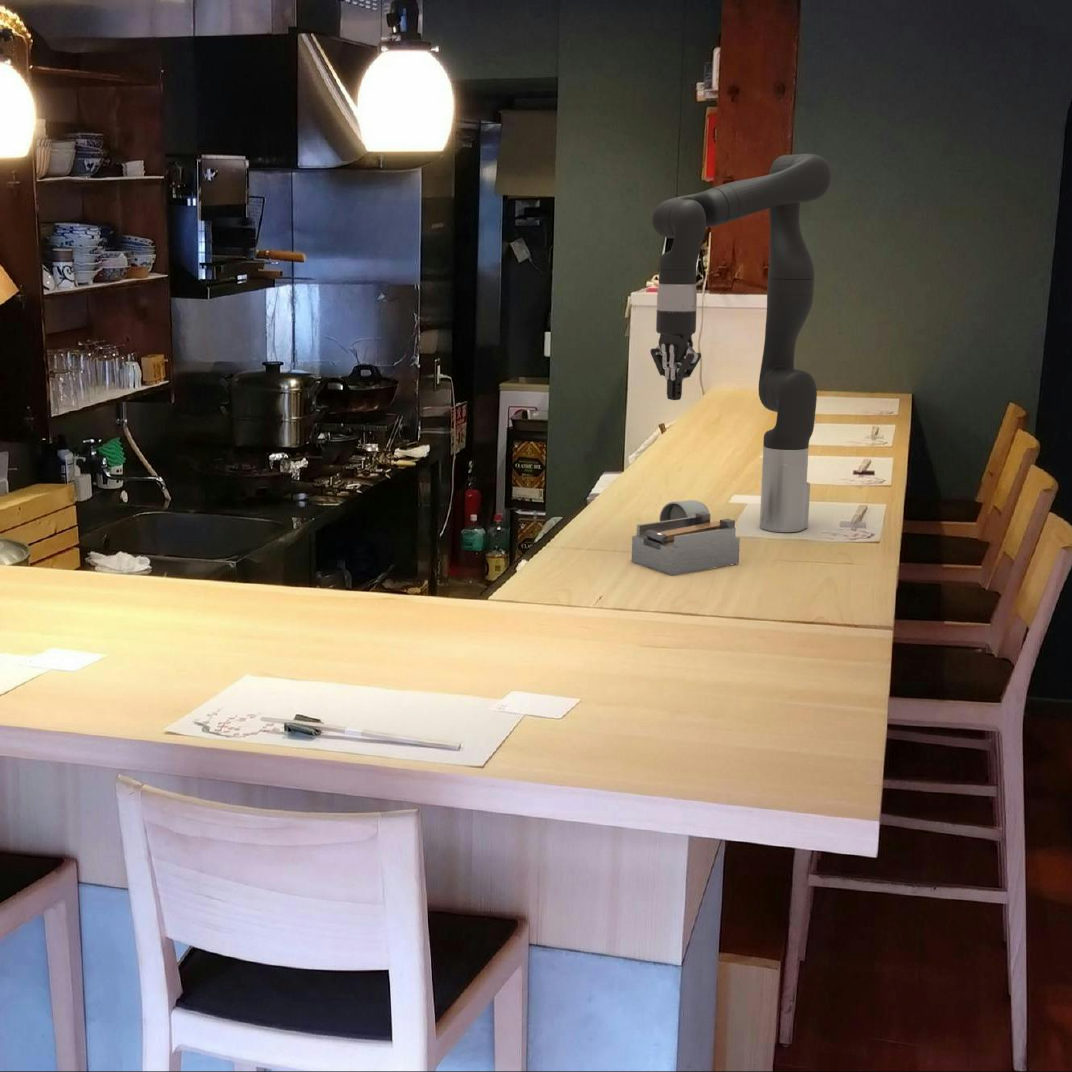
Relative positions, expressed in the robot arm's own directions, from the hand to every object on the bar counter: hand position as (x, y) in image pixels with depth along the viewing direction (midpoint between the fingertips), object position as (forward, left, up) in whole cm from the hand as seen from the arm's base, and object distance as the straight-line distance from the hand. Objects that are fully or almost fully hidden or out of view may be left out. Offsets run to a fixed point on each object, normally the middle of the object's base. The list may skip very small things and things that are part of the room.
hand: (673, 399), depth 259 cm
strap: (+5, +12, -24) cm, 27 cm away
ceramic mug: (-7, -6, -29) cm, 31 cm away
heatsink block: (+6, +12, -29) cm, 32 cm away
